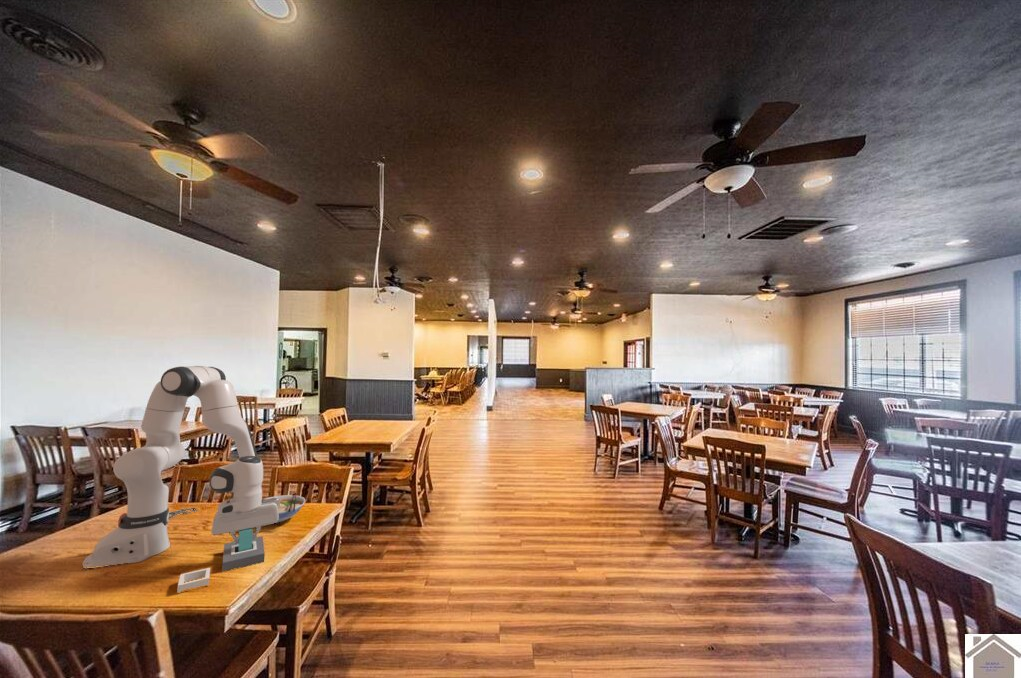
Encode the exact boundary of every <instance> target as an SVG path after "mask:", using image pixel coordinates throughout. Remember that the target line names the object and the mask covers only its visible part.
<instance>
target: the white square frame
mask: <svg viewBox="0 0 1021 678" xmlns="http://www.w3.org/2000/svg"><path fill="white" fill-rule="evenodd" d="M210 575H211V567H207V568H202V569H201V568H200V569H199V570H193V571H189V572H185V573H184V572H183V573H181V574H180V576H179V580H178V584H177V591H176V594H177V593H178V592H181V591H183V590H186V589H191V588H196V587H200V586H205V585H208V586H209V584H210ZM202 577H205V578H202ZM198 578H202V579H198ZM195 579H197V580H195ZM191 580H193V581H191ZM187 581H189V582H187ZM184 582H185V583H184Z"/></svg>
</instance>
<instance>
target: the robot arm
mask: <svg viewBox="0 0 1021 678" xmlns="http://www.w3.org/2000/svg"><path fill="white" fill-rule="evenodd" d="M192 396H194V397H197V399H199V401H200V406H201V407H200V409H201V418H202V422H203V425H204V427H205V428H206V429H207V430H208V431H211V432H213V433H216V434H221V435H224V436H227V437H230V438H231V439H232V440H233V441H234V443H235V448H236V451H237V455H238V459H236V460H235V461H234V462H231V463H229V464H226V465H222V466H220V467H217V468H216V469H214V470H213V471H212V472H211V474H210V476H209V483H208V484H209V487H210V489H211V490H212V491H213V492H215V493H217V494H225V493H233V496H232V497H231V498H228V499H227V500H224V501H222V502H220V503H219V504H218V505H217V511H216V513H215V515H214V517H213V521H212V525H211V532H210V533H211V534H212V535H213V536H219V535H222V534H228V533H230V536H231V537H232V539H233V542H234V543H239V535H236V532H239V530H244V529H249V528H253V529H254V528H256V530H255V532H253V536H252V540H253V539H257V537H258V534H259V533H260V531H261V530H262V527H264V526H268V525H275V524H274V523H276V522H277V521H278V520H279V515H278V508H279V507H280V500H279V499H277V498H270V499H265V498H263V487H262V486H263V485H262V484H263V481H264V464H263V461H262V458H261V457H259V455H258V453H257V449H256V446H255V442H254V439H253V436H252V432H251V429H250V426H249V424H248V422H247V421H246V420H245V419H244V418H243V417H242V415H241V413H240V409H239V406H238V405H239V404H238V403H239V402H238V398H237V394H236V390H235V388H234V386H233V383H232V382H231V381H229V380H227V376H226V375H225V373H224V371H223V370H221V369H219V368H217V367H215V366H203V365H202V366H201V365H194V366H193V365H192V366H175V367H171V368H169V369H167V370H166V371H164V373H163V374H162V376H161V377H160V381H159V382H157V383H156V384H155V385H154V387H153V389H152V391H151V393H150V396H149V399H148V400H147V404H146V407H145V411H144V415H143V419H142V421H141V425H140V428H141V430H142V432H144V433H145V437H146V439H145V440H146V442H145V445H144V446H141V447H137V448H135V449H134V448H133V449H131V450H129V451H128V452H126V453H124V454H123V455H121V456H119V457H118V458H117V459H116V460H115V462H114V464H113V467H112V468H113V473H114V476H115V477H116V478H117V479H119V480H120V481H122V482H123V483H124V485H125V488H126V491H127V507H126V508H127V510H126V512H123V513H121V515H120V516H119V518H118V522H117V527H116V528H115V529H113V530H112V531H110V532H109V533H108V534H107V535H105V536H104V537H102V538H101V539H100V540H99V541H98V542H97V544H96V545H95V547H94V549H93V551H92V553H90V554H89V555H88V556H86V557H85V559H84V560H83V561H82V564H81V566H82V565H83V567H86V568H87V567H96V566H105V565H115V564H121V565H124V564H123V563H128V564H133V563H134V564H135V563H140V562H143V561H146V560H147V559H148V558H150V557H153V556H155V555H159V554H160V553H162V552H164V551H166V550H167V549H168V548H170V546H171V543H170V539H169V538H170V537H169V534H168V523H169V519H170V518H169V513H170V511H169V510H170V508H169V494H170V493H169V492H170V488H169V486H168V485H166V484H165V483H164V482H163V480H162V472H163V471H166V470H168V469H170V468H172V467H174V466H176V465H177V464H178V463H179V462H180V461H182V460H183V458H184V457H185V455H186V454H185V453H186V450H185V449H186V448H185V447H184V444H183V443H181V437H180V435H181V434H180V433H181V432H180V431H181V430H180V429H181V425H182V421H183V416H184V413H185V409H186V406H187V402H188V399H189V398H191V397H192ZM276 524H277V523H276ZM85 564H87V565H85ZM115 566H116V565H115Z"/></svg>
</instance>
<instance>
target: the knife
mask: <svg viewBox="0 0 1021 678" xmlns="http://www.w3.org/2000/svg"><path fill="white" fill-rule="evenodd" d="M191 509H195V510H191ZM186 510H190V511H186ZM185 511H186V512H185ZM195 511H196V512H198V508H197V507H189V508H182V509H179V510H175V511H172V512H169V519H171V517H172V518H174V517H173V516H175V515H177V514H180V513H191V512H194V513H196V512H195ZM191 514H192V513H191ZM180 515H181V514H180ZM177 516H178V515H177ZM175 517H176V516H175Z"/></svg>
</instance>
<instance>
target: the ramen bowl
mask: <svg viewBox="0 0 1021 678" xmlns="http://www.w3.org/2000/svg"><path fill="white" fill-rule="evenodd" d="M270 498H277V499H279V500H280V507H279V508H278V515H279V520H278V521H277V522H276V524H279V522H280V523H282V522H284V521H287V520H289V519H291V518H293V517H294V516H295V515H297V513H298V512H299V511H300V510H301V509H302V508H303V506H304V504H305V503H306V499H305V497H303V496H300V495H297V493H296V492H294V493H293V494H289V495H286V494H285V495H283V494H282V495H275V496H269V497H265V498H264V499H270Z"/></svg>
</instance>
